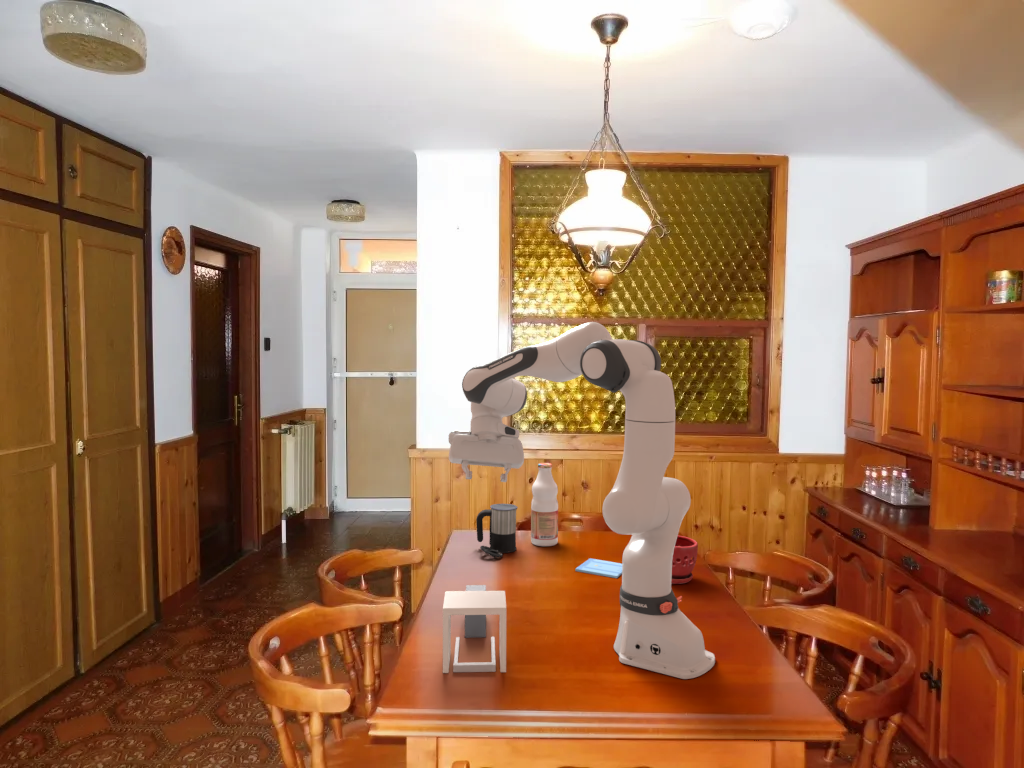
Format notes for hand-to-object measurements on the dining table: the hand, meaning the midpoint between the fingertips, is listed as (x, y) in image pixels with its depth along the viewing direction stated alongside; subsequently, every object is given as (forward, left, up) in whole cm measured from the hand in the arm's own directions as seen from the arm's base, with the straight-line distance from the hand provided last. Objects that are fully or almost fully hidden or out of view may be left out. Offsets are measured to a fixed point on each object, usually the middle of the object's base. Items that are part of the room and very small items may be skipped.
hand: (486, 479), depth 181 cm
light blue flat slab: (-5, -46, -34) cm, 58 cm away
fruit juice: (+26, -55, -34) cm, 70 cm away
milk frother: (+30, -36, -34) cm, 58 cm away
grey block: (-8, +11, -34) cm, 36 cm away
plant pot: (-26, -53, -34) cm, 68 cm away
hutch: (-18, +22, -34) cm, 44 cm away
